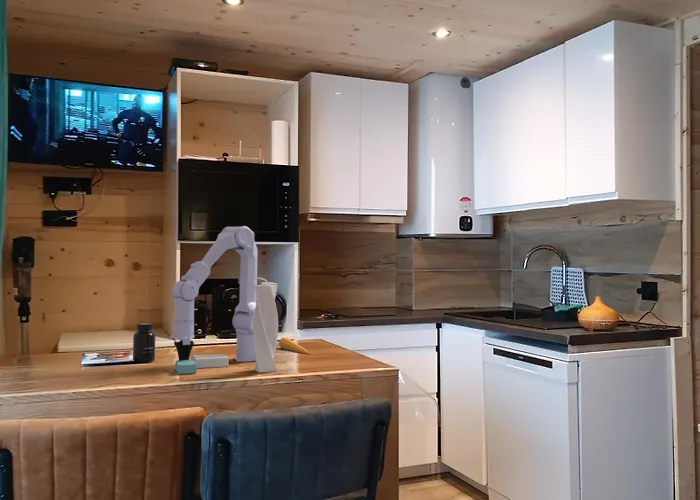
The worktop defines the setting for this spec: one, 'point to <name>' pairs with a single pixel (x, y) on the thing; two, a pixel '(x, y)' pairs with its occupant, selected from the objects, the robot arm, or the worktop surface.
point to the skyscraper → (265, 326)
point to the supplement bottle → (144, 343)
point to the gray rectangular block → (210, 360)
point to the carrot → (291, 346)
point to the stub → (185, 366)
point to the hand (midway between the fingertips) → (183, 365)
